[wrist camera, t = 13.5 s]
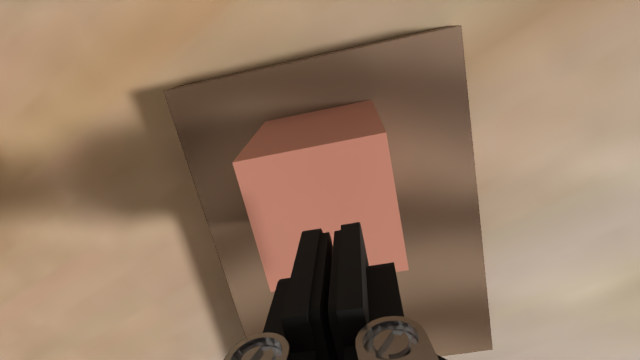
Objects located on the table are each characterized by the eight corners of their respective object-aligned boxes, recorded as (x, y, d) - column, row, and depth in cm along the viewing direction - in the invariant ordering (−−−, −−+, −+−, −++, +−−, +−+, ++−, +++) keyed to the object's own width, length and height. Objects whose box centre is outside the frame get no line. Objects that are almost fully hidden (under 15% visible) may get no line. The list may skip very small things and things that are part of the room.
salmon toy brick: (388, 199, 21) (408, 270, 15) (290, 217, 22) (270, 291, 16) (371, 99, 20) (386, 132, 13) (265, 121, 20) (232, 162, 14)
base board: (481, 326, 26) (492, 349, 24) (265, 356, 28) (260, 380, 26) (450, 25, 20) (461, 25, 18) (178, 85, 22) (163, 91, 20)
